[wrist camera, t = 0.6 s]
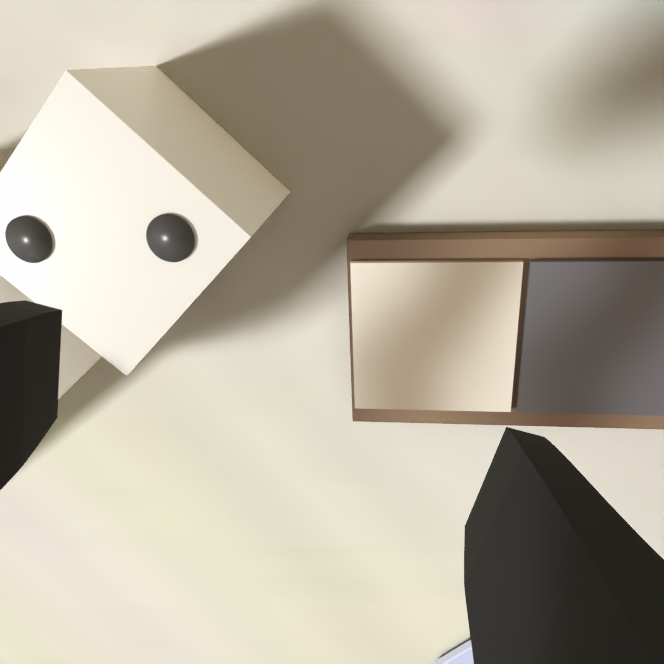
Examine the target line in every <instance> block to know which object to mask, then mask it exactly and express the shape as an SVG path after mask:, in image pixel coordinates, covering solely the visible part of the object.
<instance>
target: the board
mask: <svg viewBox="0 0 664 664" xmlns="http://www.w3.org/2000/svg"><path fill="white" fill-rule="evenodd" d="M347 265H348V294H349V324H350V353H351V383H352V413H353V421H366V422H404V423H443V424H481V425H519V426H557V427H595V428H634V429H664V230H602V231H514V232H425V233H349V236H348V238H347Z"/></svg>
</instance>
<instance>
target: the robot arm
mask: <svg viewBox="0 0 664 664" xmlns="http://www.w3.org/2000/svg"><path fill="white" fill-rule="evenodd" d="M61 326H62V310H60V309H56V308H53V307H49V306H45V305H41V304H37V303H34V302H30V301H26V300H24V301H12V302H4V303H0V490H1V489H2V488H3V487H4V486H5V484H6V483H7V482H8V481H9V480H10V479H11V478H12V477H13V476H14V475H15V474H16V473H17V472H18V470H19V469H20V468H21V467H22V466H23V465H24V463H25V462H26V461H27V459H28V458H29V457H30V455H31V454H32V453H33V451H34V450H35V449H36V447H37V446H38V445H39V443H40V442H41V440H42V439H43V437H44V436H45V434H46V433H47V431H48V430H49V429H50V427H51V426H52V424H53V423H54V421H55V420H56V418H57V409H58V388H59V367H60V347H61ZM464 586H465V595H466V604H467V612H468V621H469V629H470V637H471V640H469V641H467V642H466V643H464V644H462V645H461V646H459V647H457V648H456V649H454V650H452V651H451V652H449V653H448V654H446V655H444V656H443V657H441V658H439V659H438V660H436V661H434V662H433V663H432V664H664V560H663V559H662V558H661V557H660V556H659V555H658V554H657V553H656V552H655V551H654V550H653V549H652V548H651V547H650V546H649V545H648V544H647V543H646V542H645V541H644V540H643V539H642V538H641V537H640V536H639V535H638V534H637V533H636V531H635V530H634V529H633V528H632V527H631V526H630V525H629V524H628V523H627V522H626V521H625V520H624V519H623V518H622V517H621V516H620V515H619V514H618V513H617V512H616V511H615V510H614V508H613V507H612V506H611V505H610V504H609V503H608V502H607V501H606V500H605V499H604V498H603V497H602V496H601V495H600V493H599V492H598V491H597V490H596V489H595V488H594V487H593V486H592V485H591V484H590V483H589V482H588V480H587V479H586V478H585V477H584V476H583V475H582V474H581V473H580V472H579V471H578V470H577V469H576V468H575V467H574V465H573V464H572V463H571V462H570V461H569V460H568V459H567V458H566V457H565V456H564V455H563V454H562V453H561V452H560V451H559V450H558V449H557V448H556V447H555V446H554V445H553V444H552V443H551V442H550V441H548V440H547V439H546V438H545V437H542V436H538V435H534V434H530V433H527V432H523V431H519V430H515V429H512V428H508V427H506V429H505V432H504V434H503V436H502V439H501V441H500V444H499V446H498V448H497V451H496V453H495V456H494V458H493V460H492V463H491V465H490V468H489V470H488V472H487V475H486V477H485V480H484V482H483V484H482V487H481V489H480V491H479V494H478V496H477V499H476V501H475V503H474V506H473V508H472V511H471V513H470V515H469V518H468V520H467V523H466V525H465V547H464Z"/></svg>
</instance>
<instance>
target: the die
mask: <svg viewBox="0 0 664 664" xmlns="http://www.w3.org/2000/svg"><path fill="white" fill-rule="evenodd" d="M289 193H290V191H289V190H288V189H287V188H286V187H285V186H283V185H282V184H281V183H280V182H279V181H278V180H277V179H276V178H275V177H274V176H273V175H272V174H271V173H270V172H269V171H267V170H266V169H265V168H264V167H263V166H262V165H261V164H260V163H259V162H258V161H257V160H256V159H255V158H254V157H253V156H251V155H250V154H249V153H248V152H247V151H246V150H245V149H244V148H243V147H242V146H241V145H240V144H239V143H238V142H236V141H235V140H234V139H233V138H232V137H231V136H230V135H229V134H228V133H227V132H226V131H225V130H224V129H223V128H222V127H220V126H219V125H218V124H217V123H216V122H215V121H214V120H213V119H212V118H211V117H210V116H209V115H208V114H207V113H206V112H204V111H203V110H202V109H201V108H200V107H199V106H198V105H197V104H196V103H195V102H194V101H193V100H192V99H191V98H189V97H188V96H187V95H186V94H185V93H184V92H183V91H182V90H181V89H180V88H179V87H178V86H177V85H176V84H175V83H173V82H172V81H171V80H170V79H169V78H168V77H167V76H166V75H165V74H164V73H163V72H162V71H161V70H160V69H159V68H157V67H156V66H144V67H123V68H102V69H81V70H66V71H65V72H64V74H63V76H62V77H61V79H60V80H59V82H58V83H57V85H56V86H55V88H54V90H53V91H52V93H51V94H50V96H49V97H48V99H47V100H46V102H45V104H44V105H43V107H42V108H41V110H40V111H39V113H38V114H37V116H36V118H35V119H34V121H33V122H32V124H31V125H30V127H29V128H28V130H27V132H26V133H25V135H24V136H23V138H22V139H21V141H20V143H19V144H18V146H17V147H16V149H15V150H14V152H13V153H12V155H11V157H10V158H9V160H8V161H7V163H6V164H5V166H4V167H3V169H2V171H1V172H0V275H1V276H2V277H4V278H5V279H6V280H7V281H9V282H10V283H11V284H12V285H14V286H15V287H16V288H17V289H19V290H20V291H21V292H22V293H24V294H25V295H26V296H27V297H29V298H30V299H31V300H32V301H34V302H35V303H37V304H41V305H45V306H49V307H53V308H56V309H60V310H62V325H64V326H65V327H66V328H67V329H69V330H70V331H71V332H72V333H74V334H75V335H76V336H77V337H79V338H80V339H81V340H82V341H84V342H85V343H86V344H87V345H89V346H90V347H91V348H92V349H94V350H95V351H96V352H97V353H99V354H100V355H101V356H102V357H104V358H105V359H106V360H107V361H109V362H110V363H111V364H112V365H114V366H115V367H116V368H117V369H119V370H120V371H121V372H122V373H124V374H125V375H126V376H127V375H128V374H129V373H130V372H131V371H132V370H133V369H134V367H135V366H136V365H137V364H138V363H139V362H140V361H141V360H142V359H143V357H144V356H145V355H146V354H147V353H148V352H149V351H150V350H151V348H152V347H153V346H154V345H155V344H156V343H157V342H158V341H159V340H160V338H161V337H162V336H163V335H164V334H165V333H166V332H167V331H168V329H169V328H170V327H171V326H172V325H173V324H174V323H175V322H176V320H177V319H178V318H179V317H180V316H181V315H182V314H183V313H184V312H185V310H186V309H187V308H188V307H189V306H190V305H191V304H192V303H193V301H194V300H195V299H196V298H197V297H198V296H199V295H200V294H201V293H202V291H203V290H204V289H205V288H206V287H207V286H208V285H209V284H210V282H211V281H212V280H213V279H214V278H215V277H216V276H217V275H218V274H219V272H220V271H221V270H222V269H223V268H224V267H225V266H226V265H227V263H228V262H229V261H230V260H231V259H232V258H233V257H234V256H235V255H236V253H237V252H238V251H239V250H240V249H241V248H242V247H243V246H244V244H245V243H246V242H247V241H248V240H249V239H250V238H251V237H252V235H253V234H254V233H255V232H256V231H257V230H258V229H259V227H260V226H261V225H262V224H263V223H264V222H265V221H266V219H267V218H268V217H269V216H270V215H271V214H272V213H273V211H274V210H275V209H276V208H277V207H278V206H279V205H280V203H281V202H282V201H283V200H284V199H285V198H286V197H287V195H288V194H289Z"/></svg>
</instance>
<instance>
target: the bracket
mask: <svg viewBox="0 0 664 664" xmlns="http://www.w3.org/2000/svg"><path fill="white" fill-rule="evenodd" d="M24 300H26V301H30V302H34V301H32V300H31V299H30V298H29V297H27V296H26V295H25V294H24V293H22V292H21V291H20V290H19V289H17V288H16V287H15V286H14V285H12V284H11V283H10V282H9V281H7V280H6V279H5V278H4V277H2V276H1V275H0V303H4V302H12V301H24ZM34 303H35V302H34ZM101 357H102V356H101V355H100V354H99V353H97V352H96V351H95V350H94V349H92V348H91V347H90V346H89V345H87V344H86V343H85V342H84V341H82V340H81V339H80V338H79V337H77V336H76V335H75V334H74V333H72V332H71V331H70V330H69V329H67V328H66V327H65V326H64V325H62V326H61V347H60V367H59V388H58V399H59V398H60V397H61V396H62V395H63V394H65V393H66V392H67V391H68V390H69V389H70V388H71V387H72V386H73V385H74V384H75V383H76V382H77V381H78V380H79V379H80V378H81V377H82V376H83V375H84V374H85V373H86V372H87V371H88V370H89V369H90V368H91V367H92V366H93V365H94V364H95V363H96V362H97V361H98V360H99V359H100V358H101Z"/></svg>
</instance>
